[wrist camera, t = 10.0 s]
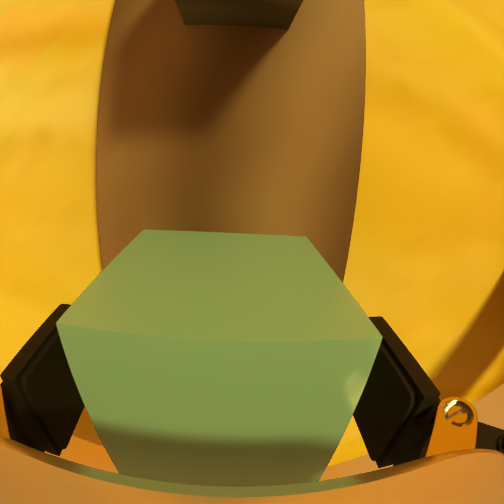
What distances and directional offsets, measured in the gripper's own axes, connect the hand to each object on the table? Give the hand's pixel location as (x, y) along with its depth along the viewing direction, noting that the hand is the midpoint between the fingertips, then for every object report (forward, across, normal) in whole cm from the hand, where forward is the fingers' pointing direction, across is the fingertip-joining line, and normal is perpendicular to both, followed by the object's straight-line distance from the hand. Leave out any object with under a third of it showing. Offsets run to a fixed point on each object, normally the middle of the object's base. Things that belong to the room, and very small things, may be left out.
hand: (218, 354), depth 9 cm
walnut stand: (+4, 0, -6) cm, 8 cm away
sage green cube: (+3, 0, 0) cm, 3 cm away
